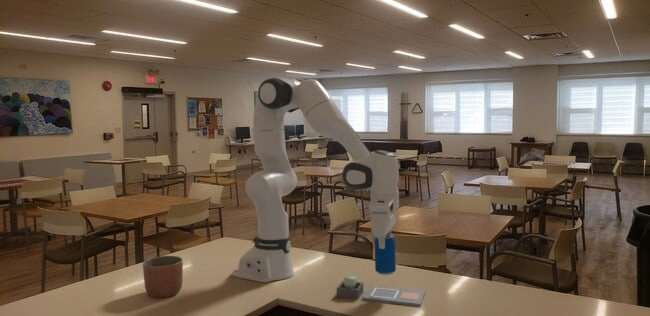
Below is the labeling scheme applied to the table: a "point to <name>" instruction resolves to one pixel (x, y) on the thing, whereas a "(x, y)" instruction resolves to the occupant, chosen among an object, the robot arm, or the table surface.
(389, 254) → the beverage can
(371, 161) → the robot arm
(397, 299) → the picture board
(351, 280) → the button
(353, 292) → the button housing
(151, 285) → the planter
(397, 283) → the table surface
